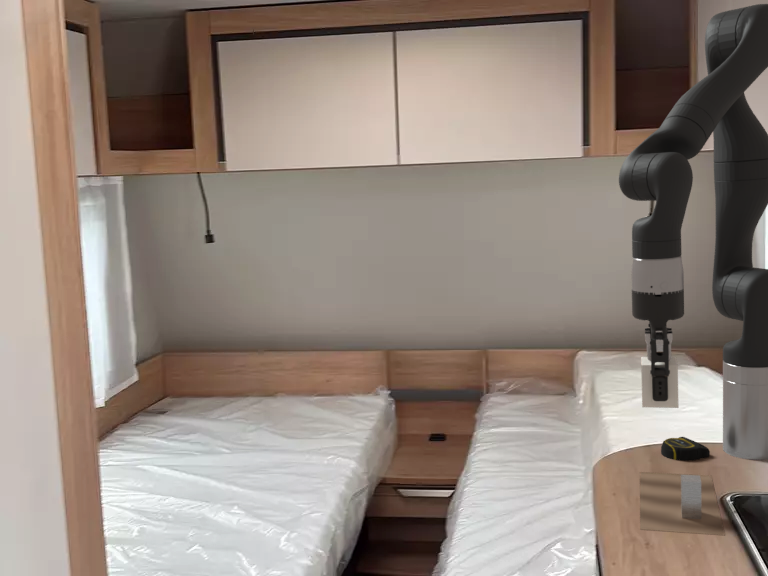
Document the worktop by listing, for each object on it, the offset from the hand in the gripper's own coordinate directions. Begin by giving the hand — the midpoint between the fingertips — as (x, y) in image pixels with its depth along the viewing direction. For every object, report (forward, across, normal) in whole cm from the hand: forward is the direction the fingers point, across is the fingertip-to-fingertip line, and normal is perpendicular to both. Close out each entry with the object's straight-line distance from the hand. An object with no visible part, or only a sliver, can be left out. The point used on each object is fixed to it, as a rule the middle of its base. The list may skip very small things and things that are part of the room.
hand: (659, 394), depth 128 cm
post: (+15, +10, +4) cm, 18 cm away
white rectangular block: (+1, 0, 0) cm, 1 cm away
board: (+16, +5, +2) cm, 17 cm away
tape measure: (+17, -16, +4) cm, 24 cm away
